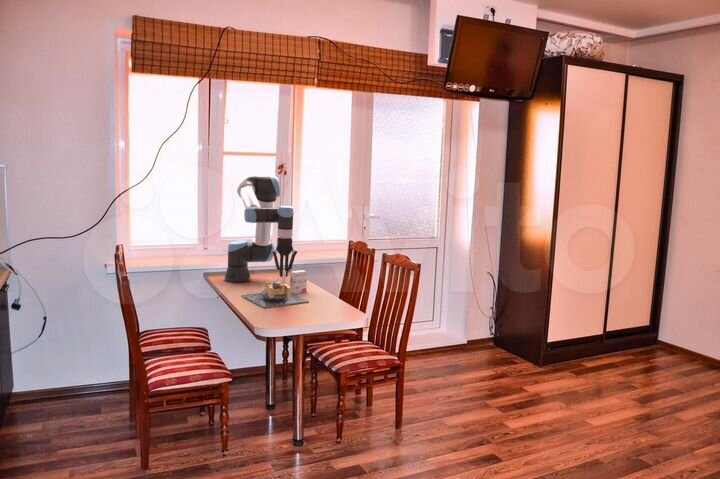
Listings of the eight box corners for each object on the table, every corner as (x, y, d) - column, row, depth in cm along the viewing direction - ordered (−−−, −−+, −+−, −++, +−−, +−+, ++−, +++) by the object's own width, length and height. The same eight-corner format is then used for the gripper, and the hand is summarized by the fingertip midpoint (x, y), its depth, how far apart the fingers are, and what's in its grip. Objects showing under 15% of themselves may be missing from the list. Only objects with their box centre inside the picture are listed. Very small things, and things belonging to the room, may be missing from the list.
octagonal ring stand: (262, 289, 309) (262, 280, 309) (283, 288, 313) (283, 279, 312) (269, 298, 292) (269, 288, 291) (291, 297, 296) (291, 287, 295)
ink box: (301, 290, 330) (301, 269, 328) (306, 292, 326) (307, 271, 325) (288, 292, 324) (289, 271, 322) (294, 294, 320) (295, 272, 319)
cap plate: (241, 296, 309) (241, 279, 308) (284, 291, 325) (285, 275, 323) (263, 308, 289) (264, 290, 287) (309, 302, 304) (309, 285, 303)
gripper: (273, 238, 287) (272, 285, 291) (299, 238, 291) (297, 284, 295) (270, 236, 294) (269, 281, 298) (296, 235, 298) (294, 281, 302)
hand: (283, 283), depth 297 cm, fingers closed
